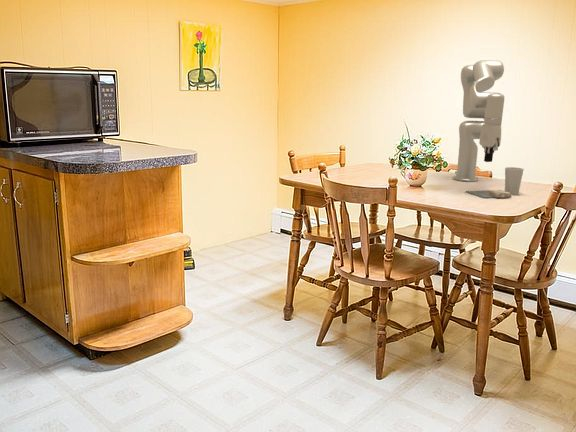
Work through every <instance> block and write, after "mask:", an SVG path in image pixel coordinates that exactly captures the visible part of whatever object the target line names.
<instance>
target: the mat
mask: <svg viewBox="0 0 576 432" xmlns="http://www.w3.org/2000/svg"><path fill="white" fill-rule="evenodd" d="M487 190H488V189H487ZM487 190H486V189H485V190H484V189H483V190H465V193H467V194H470V195H472V196H475V197H478V198H482V199H505V198H507V199H508V198H511V199H512V196H511V197H494V196H491V195H488V194H486V193H487Z"/></svg>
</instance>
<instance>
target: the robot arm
mask: <svg viewBox="0 0 576 432" xmlns="http://www.w3.org/2000/svg"><path fill="white" fill-rule="evenodd" d="M504 72H505V66H504V64H503V62H502V61H500V60H491V59H489V60H478V61H476V62H475V63H473V64H469V65H464V66H463V67H462V68H461V72H460V84H461V86H462V90H463V96H462V97H463V101H462V115H463V117H465V118H467V119H482V120H464V121H462V122H461V123H460V124H459V127H458V134H459V142H458V143H459V147H458V158H457V166H456V167H457V168H456V169H457V170H456V171H455V172H454V174H456V175H454V176H453V180H454V181H460V182H468V183H469V182H478V180H479V179H478V177H476V170H477V161H478V149H479V147H478V145H477V143H476V142H475V140H479V142H478V144H479V145H480V146H481V147H482V148H483V149H484V150H483V151H484V160H483V162H485V163H491V162H493V158H494V156H493V155H494V154H495V152H496V151H498V150H499V147H500V146H501V143H502V142H501V140H502V121H503V116H504V115H503V113H504V106H505V95H504V94H502V93H501V92H491V91H490V92H488V90H490V89H492V88H493V87H494V85H495V82H496V81H498V80H500V79H501V78H502V77H503V75H504Z"/></svg>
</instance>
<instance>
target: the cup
mask: <svg viewBox="0 0 576 432" xmlns="http://www.w3.org/2000/svg"><path fill="white" fill-rule="evenodd" d="M504 169H505V170H504V175H505V177H504V178H505V179H504V191H506V192H509V193H511V196H518V195H520V188H521V182H522V178H523V174H524V169H525V168H522V167H515V166H514V167H512V166H511V167H510V166H509V167H505V168H504Z"/></svg>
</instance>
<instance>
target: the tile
mask: <svg viewBox="0 0 576 432" xmlns="http://www.w3.org/2000/svg"><path fill="white" fill-rule="evenodd" d="M486 194H488V195H491V196H494V197H511V198H512V195H511V193H509V192H506V191H505V190H502V189H487V193H486Z"/></svg>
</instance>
